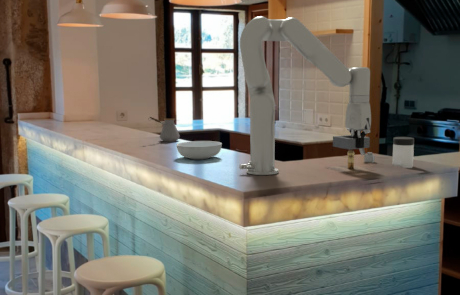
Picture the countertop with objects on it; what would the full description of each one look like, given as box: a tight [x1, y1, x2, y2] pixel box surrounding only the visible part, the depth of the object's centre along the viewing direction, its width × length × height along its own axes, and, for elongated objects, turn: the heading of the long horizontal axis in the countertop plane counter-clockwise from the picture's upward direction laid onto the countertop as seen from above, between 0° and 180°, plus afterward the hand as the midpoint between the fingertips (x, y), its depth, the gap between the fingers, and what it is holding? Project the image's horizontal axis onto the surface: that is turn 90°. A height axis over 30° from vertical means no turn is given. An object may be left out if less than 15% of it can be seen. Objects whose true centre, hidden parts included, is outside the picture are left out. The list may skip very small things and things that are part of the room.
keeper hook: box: [347, 149, 356, 169], centre depth 217 cm, size 3×3×7 cm
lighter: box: [358, 148, 376, 163], centre depth 234 cm, size 7×2×8 cm, turn 51°
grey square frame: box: [332, 134, 371, 151], centre depth 216 cm, size 10×10×4 cm
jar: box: [392, 136, 415, 169], centre depth 227 cm, size 9×8×12 cm
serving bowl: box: [176, 140, 223, 161], centre depth 254 cm, size 21×21×7 cm
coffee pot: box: [148, 116, 181, 143], centre depth 312 cm, size 21×12×15 cm, turn 142°
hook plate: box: [326, 164, 376, 174], centre depth 217 cm, size 14×14×1 cm
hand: (357, 147), depth 213 cm, fingers closed on grey square frame, 2 cm apart
